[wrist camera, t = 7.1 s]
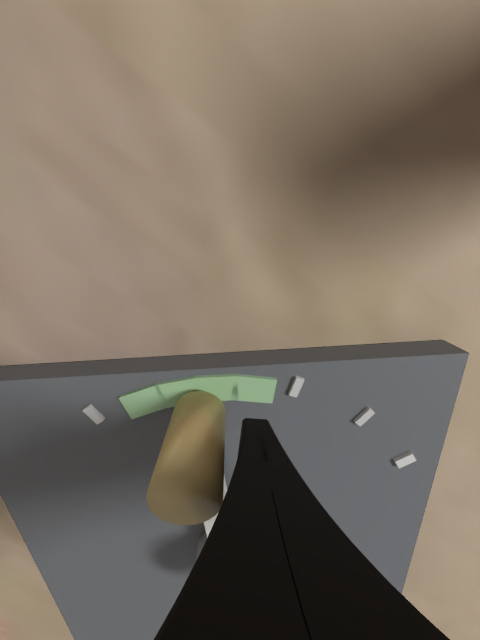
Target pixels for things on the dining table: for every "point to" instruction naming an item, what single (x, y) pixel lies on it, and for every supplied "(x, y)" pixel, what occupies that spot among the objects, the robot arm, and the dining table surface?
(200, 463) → the dial pointer
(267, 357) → the dial board
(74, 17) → the dining table surface
